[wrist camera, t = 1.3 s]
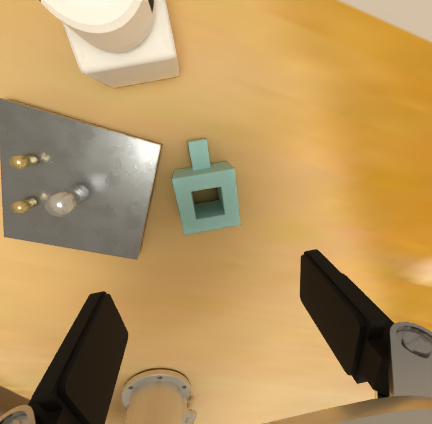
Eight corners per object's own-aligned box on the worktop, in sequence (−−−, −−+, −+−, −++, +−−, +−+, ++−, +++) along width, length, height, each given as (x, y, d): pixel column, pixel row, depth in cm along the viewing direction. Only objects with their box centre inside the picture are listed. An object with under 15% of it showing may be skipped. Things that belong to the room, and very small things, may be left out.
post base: (161, 144, 24) (154, 149, 19) (139, 253, 29) (128, 282, 24) (10, 99, 21) (-54, 90, 15) (13, 230, 26) (-34, 259, 20)
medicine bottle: (82, -1, 19) (-64, -177, 8) (161, -14, 19) (126, -200, 8) (112, 89, 22) (34, 51, 11) (180, 77, 22) (173, 28, 11)
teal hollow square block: (232, 208, 28) (240, 224, 24) (184, 217, 28) (184, 235, 23) (223, 135, 25) (231, 137, 20) (168, 143, 24) (164, 148, 20)
